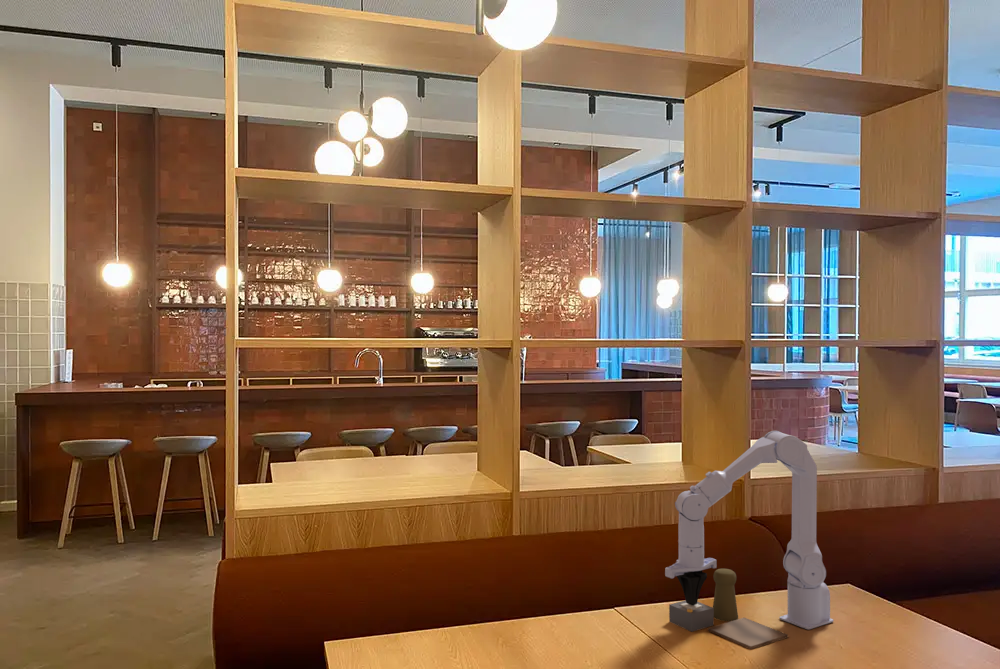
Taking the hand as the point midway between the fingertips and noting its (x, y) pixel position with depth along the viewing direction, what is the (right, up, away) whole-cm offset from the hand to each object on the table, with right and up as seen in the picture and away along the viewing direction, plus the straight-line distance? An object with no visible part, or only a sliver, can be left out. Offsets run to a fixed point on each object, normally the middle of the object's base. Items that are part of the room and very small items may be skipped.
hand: (691, 603), depth 177 cm
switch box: (0, -5, 0) cm, 5 cm away
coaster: (+11, -5, -6) cm, 13 cm away
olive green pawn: (+9, -5, +4) cm, 11 cm away
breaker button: (0, -3, 0) cm, 3 cm away
